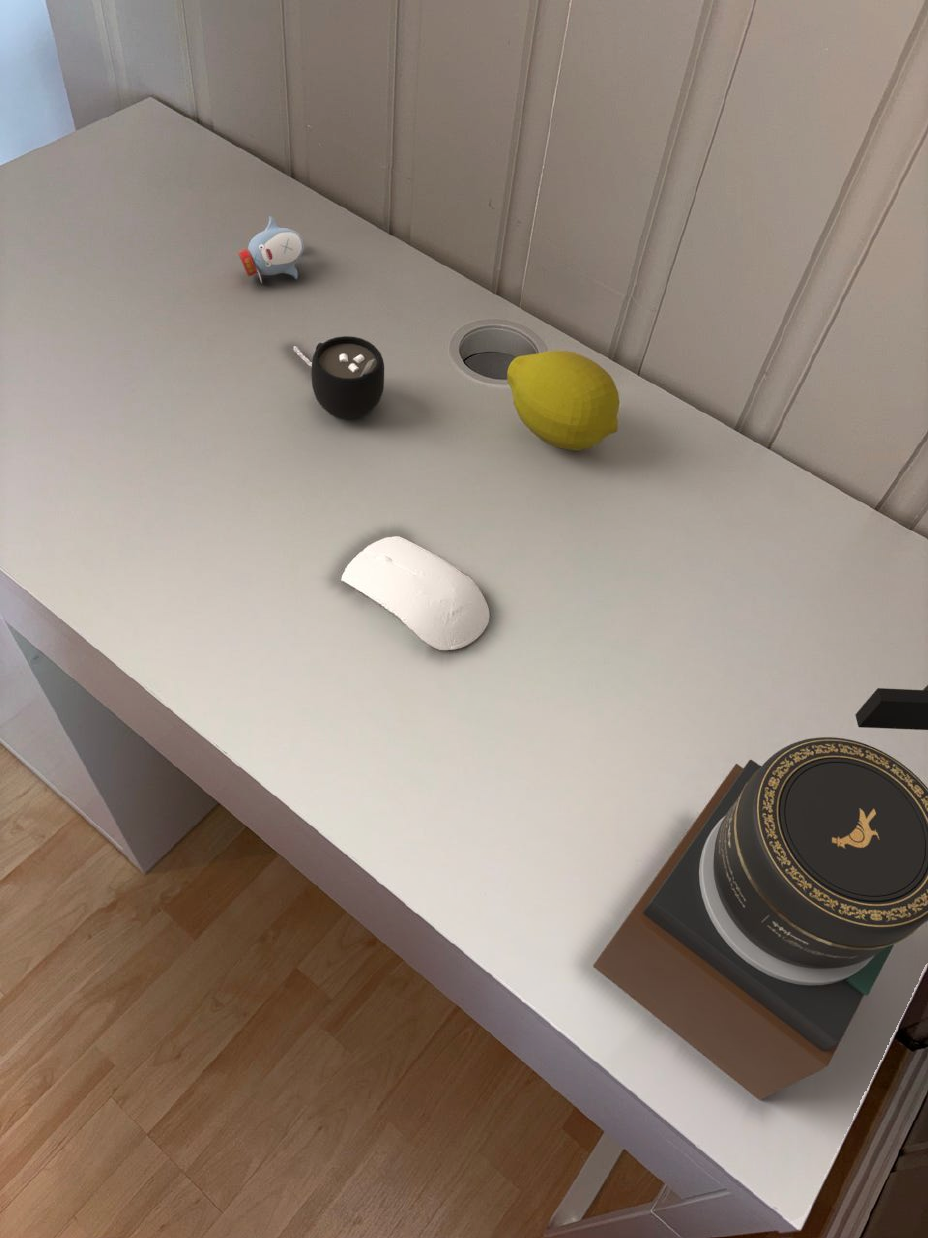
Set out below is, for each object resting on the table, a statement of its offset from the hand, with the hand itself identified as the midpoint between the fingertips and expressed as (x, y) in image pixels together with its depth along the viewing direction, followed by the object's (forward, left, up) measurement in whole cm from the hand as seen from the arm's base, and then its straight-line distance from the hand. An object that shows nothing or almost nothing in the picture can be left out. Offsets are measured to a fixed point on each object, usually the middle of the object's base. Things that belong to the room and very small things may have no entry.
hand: (902, 835), depth 46 cm
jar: (+1, +2, -8) cm, 8 cm away
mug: (+58, +7, -20) cm, 62 cm away
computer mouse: (+34, +9, -20) cm, 41 cm away
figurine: (+76, +6, -20) cm, 79 cm away
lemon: (+46, -10, -20) cm, 51 cm away
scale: (+1, +2, -20) cm, 20 cm away
